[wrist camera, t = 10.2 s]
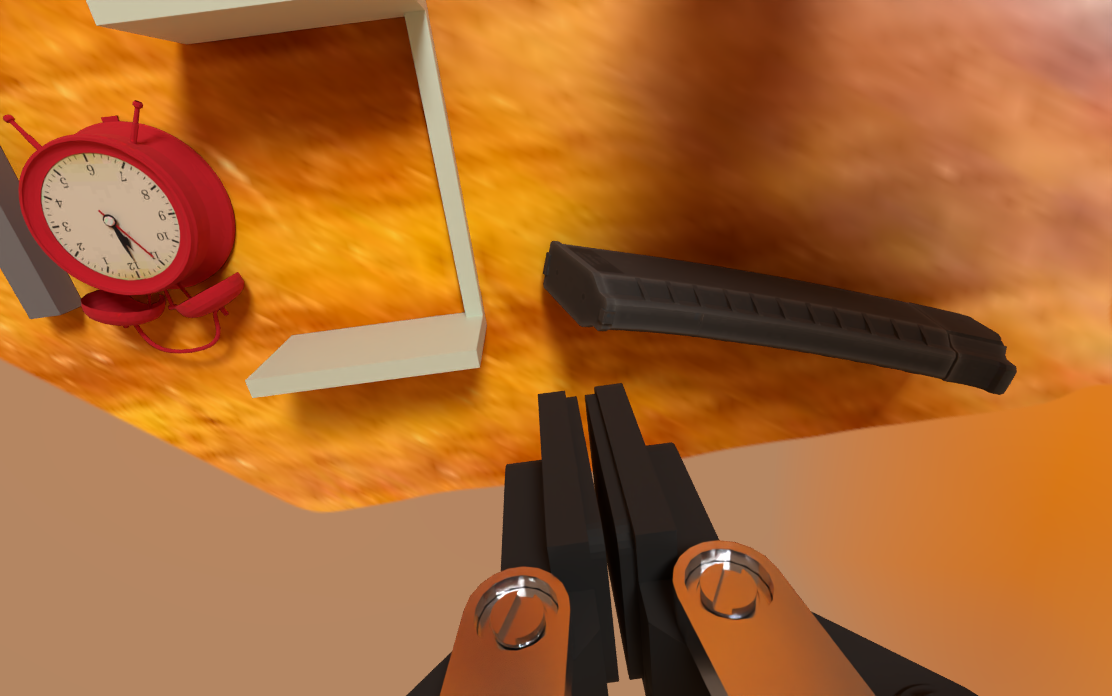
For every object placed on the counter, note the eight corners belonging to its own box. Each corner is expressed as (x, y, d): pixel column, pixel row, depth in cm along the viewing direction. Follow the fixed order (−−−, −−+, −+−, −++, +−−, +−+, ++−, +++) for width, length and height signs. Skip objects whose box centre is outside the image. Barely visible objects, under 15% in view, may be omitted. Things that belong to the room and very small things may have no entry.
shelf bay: (178, 20, 29) (83, -6, 23) (423, -12, 29) (396, -46, 23) (297, 350, 38) (252, 397, 32) (486, 325, 38) (479, 367, 32)
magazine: (503, 321, 29) (1105, 478, 24) (512, 264, 27) (1148, 419, 23) (567, 259, 44) (941, 349, 40) (575, 221, 43) (962, 309, 39)
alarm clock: (154, 87, 28) (223, 358, 31) (223, 115, 34) (276, 339, 37) (-42, 111, 28) (48, 381, 31) (63, 135, 34) (129, 358, 37)
